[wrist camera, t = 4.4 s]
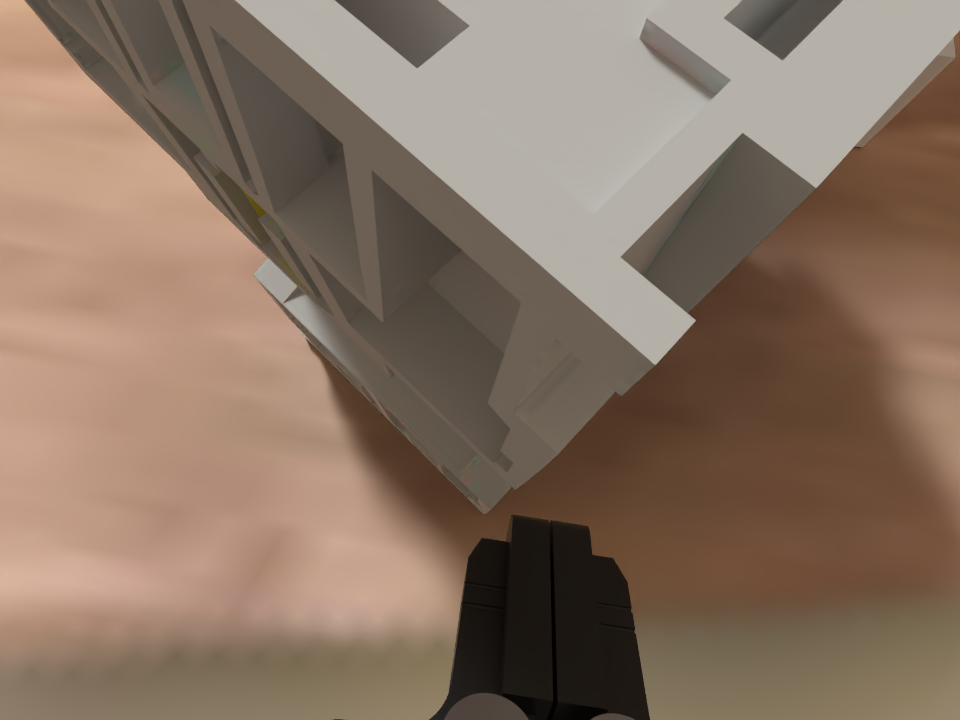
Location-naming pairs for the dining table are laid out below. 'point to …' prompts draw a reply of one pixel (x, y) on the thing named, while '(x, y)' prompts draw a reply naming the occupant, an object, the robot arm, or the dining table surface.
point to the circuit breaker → (501, 176)
